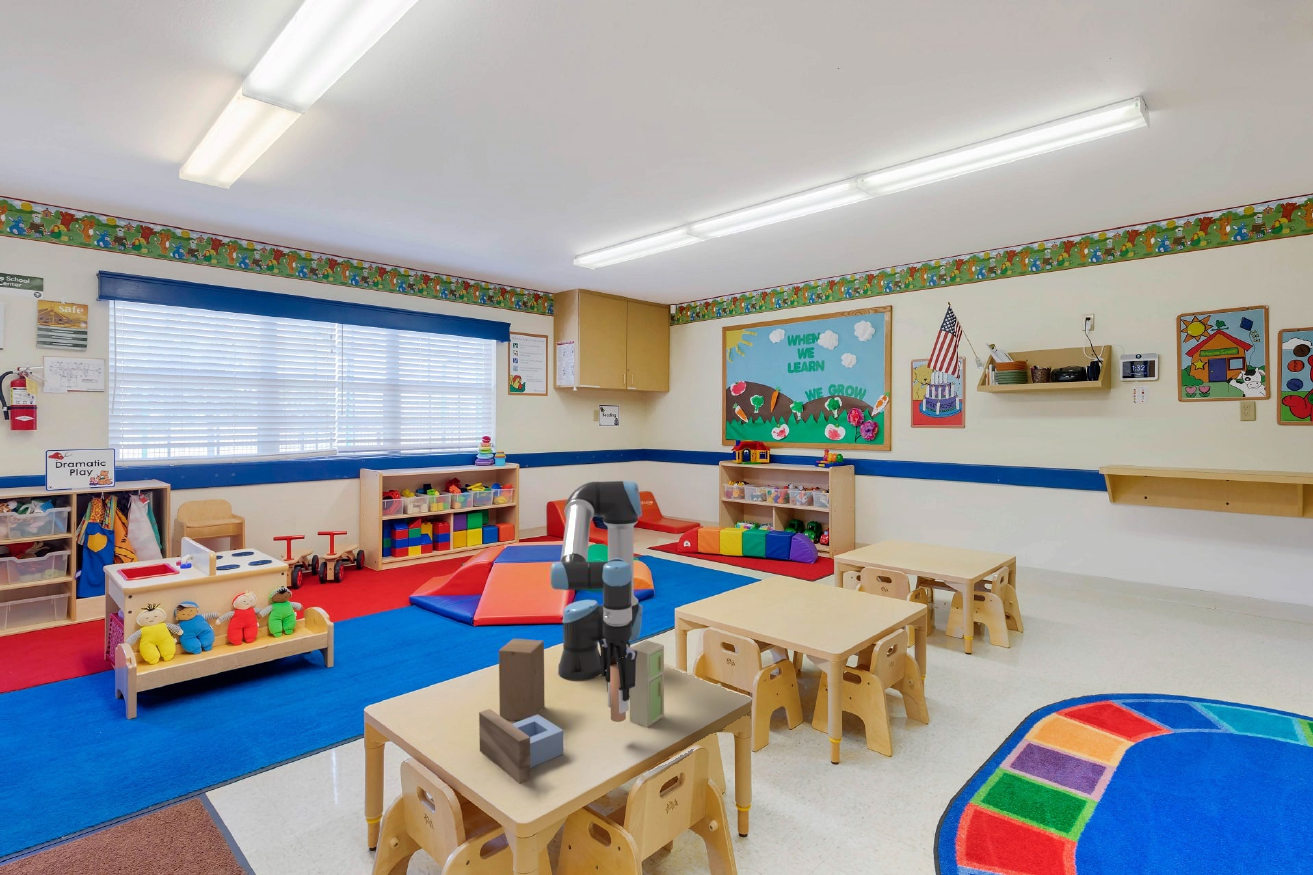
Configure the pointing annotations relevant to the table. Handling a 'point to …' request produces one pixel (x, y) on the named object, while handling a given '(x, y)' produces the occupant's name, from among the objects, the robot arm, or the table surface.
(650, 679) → the toy refrigerator
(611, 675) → the dowel
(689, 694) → the table surface
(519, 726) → the socket block
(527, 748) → the wall
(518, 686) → the wooden block
